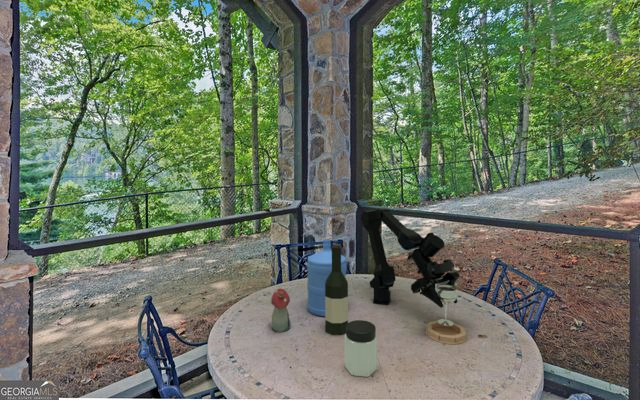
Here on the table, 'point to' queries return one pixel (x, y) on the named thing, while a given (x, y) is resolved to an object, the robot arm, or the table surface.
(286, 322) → the decorative ornament
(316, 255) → the water jug
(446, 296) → the wineglass
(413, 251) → the robot arm
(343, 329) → the wine bottle
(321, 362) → the table surface
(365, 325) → the jar
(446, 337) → the coaster
